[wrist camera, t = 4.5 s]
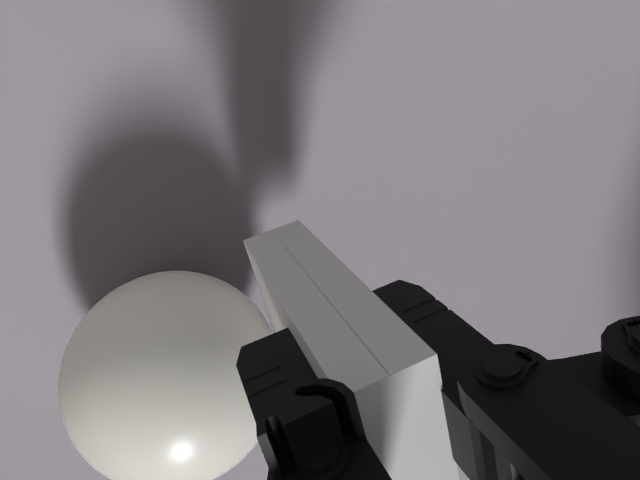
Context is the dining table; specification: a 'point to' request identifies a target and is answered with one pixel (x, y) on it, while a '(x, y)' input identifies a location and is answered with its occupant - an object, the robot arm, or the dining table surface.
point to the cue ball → (161, 379)
